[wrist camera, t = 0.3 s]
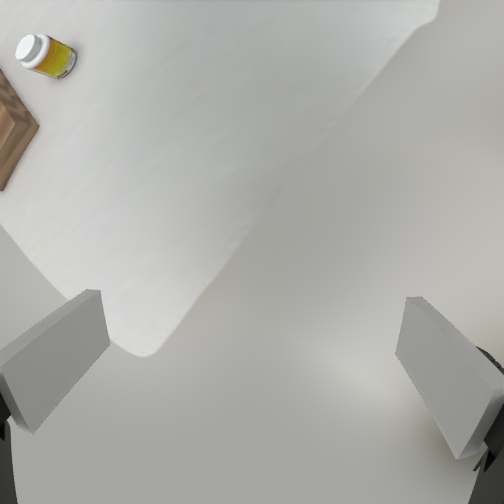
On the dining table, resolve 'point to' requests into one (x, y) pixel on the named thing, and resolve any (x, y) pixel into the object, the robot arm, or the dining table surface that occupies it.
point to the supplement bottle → (45, 55)
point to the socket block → (12, 129)
